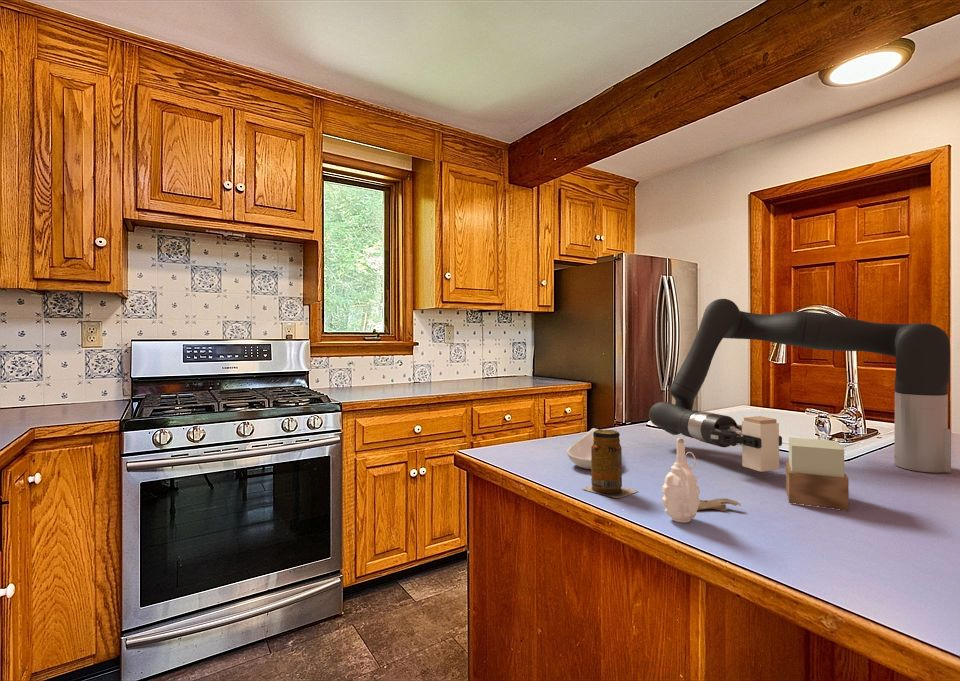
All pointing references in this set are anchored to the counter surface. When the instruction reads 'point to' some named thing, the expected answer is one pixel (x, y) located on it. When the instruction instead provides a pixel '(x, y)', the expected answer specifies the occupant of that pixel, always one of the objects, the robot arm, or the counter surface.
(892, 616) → the counter surface
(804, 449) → the middle block
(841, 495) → the bottom block
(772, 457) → the tea tin
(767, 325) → the robot arm
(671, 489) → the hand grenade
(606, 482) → the condiment
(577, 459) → the spoon rest
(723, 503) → the jawbone
